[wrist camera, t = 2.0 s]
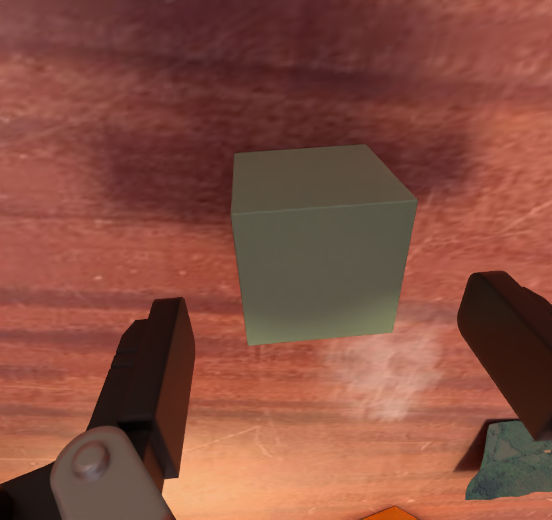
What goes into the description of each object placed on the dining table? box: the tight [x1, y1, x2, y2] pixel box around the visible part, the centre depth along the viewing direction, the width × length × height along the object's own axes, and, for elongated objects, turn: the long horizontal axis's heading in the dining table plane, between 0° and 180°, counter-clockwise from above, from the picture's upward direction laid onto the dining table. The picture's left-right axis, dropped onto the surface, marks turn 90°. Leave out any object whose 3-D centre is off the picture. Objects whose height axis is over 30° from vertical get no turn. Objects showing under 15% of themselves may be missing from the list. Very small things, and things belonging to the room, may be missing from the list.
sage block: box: [231, 144, 418, 345], centre depth 13 cm, size 5×5×5 cm
